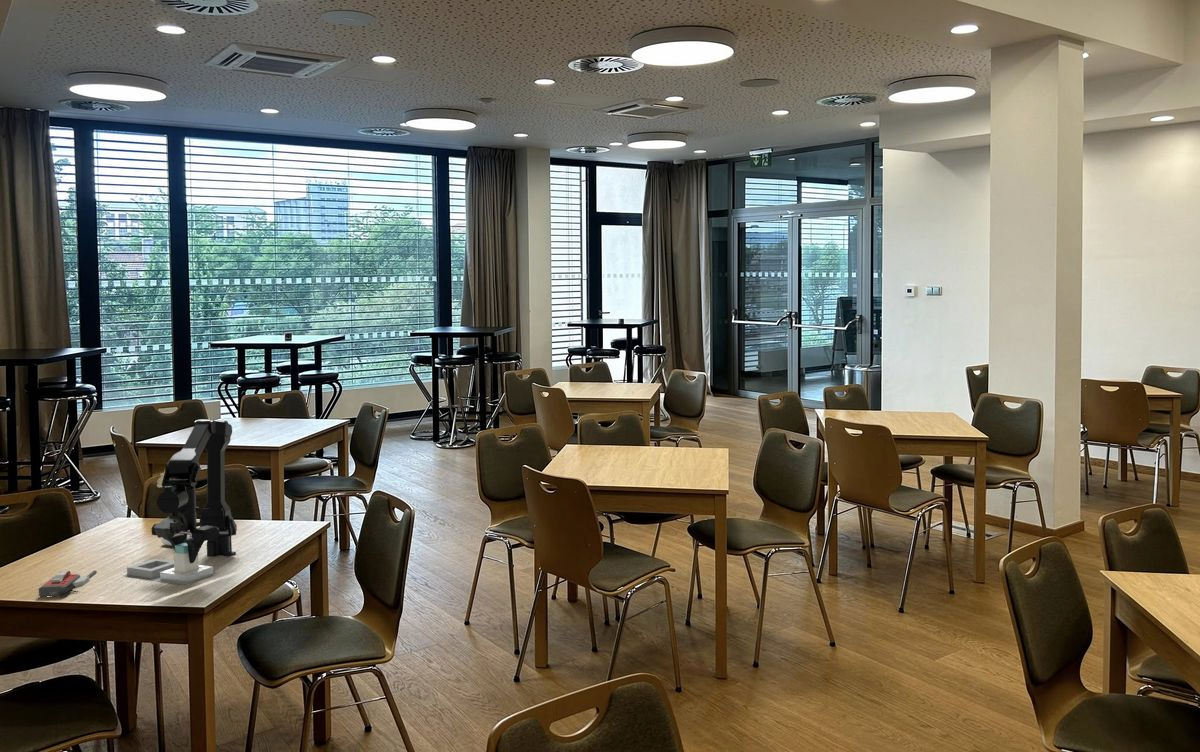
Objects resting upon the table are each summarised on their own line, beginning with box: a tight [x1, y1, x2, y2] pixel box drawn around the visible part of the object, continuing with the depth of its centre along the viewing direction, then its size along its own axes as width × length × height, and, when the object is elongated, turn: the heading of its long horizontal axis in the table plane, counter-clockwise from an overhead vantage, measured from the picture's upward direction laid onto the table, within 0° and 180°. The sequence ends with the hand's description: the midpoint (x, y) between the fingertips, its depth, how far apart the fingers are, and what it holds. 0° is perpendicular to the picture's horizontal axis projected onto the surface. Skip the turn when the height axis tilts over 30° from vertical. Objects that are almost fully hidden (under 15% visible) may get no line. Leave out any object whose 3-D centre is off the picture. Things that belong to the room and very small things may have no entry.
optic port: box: [160, 564, 214, 584], centre depth 262 cm, size 9×10×2 cm
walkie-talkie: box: [38, 570, 98, 598], centre depth 256 cm, size 9×4×20 cm
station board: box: [122, 571, 218, 586], centre depth 264 cm, size 22×12×1 cm, turn 67°
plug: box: [173, 543, 200, 574], centre depth 261 cm, size 4×5×8 cm
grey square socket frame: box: [126, 558, 174, 578], centre depth 266 cm, size 9×10×2 cm
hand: (186, 562), depth 262 cm, fingers closed on plug, 3 cm apart
